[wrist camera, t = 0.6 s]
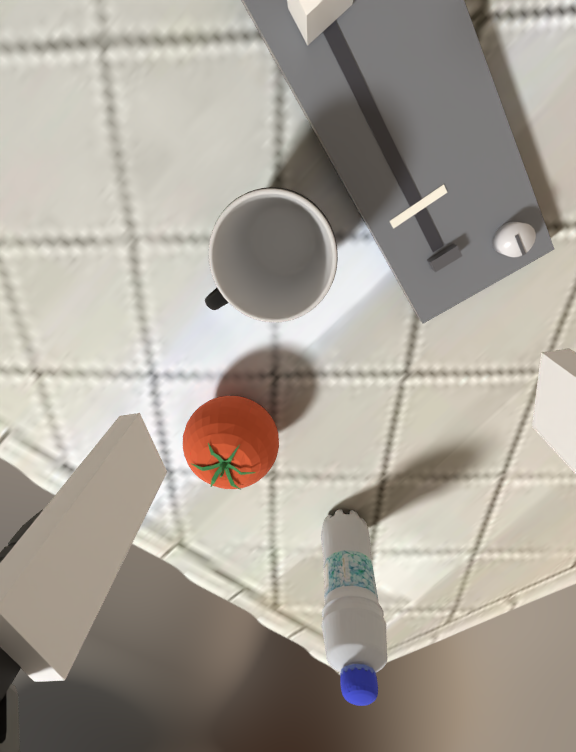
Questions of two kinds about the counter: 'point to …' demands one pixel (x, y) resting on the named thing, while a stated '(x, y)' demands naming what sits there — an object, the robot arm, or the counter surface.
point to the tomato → (230, 442)
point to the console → (415, 141)
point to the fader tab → (316, 15)
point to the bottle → (352, 608)
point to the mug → (271, 255)
